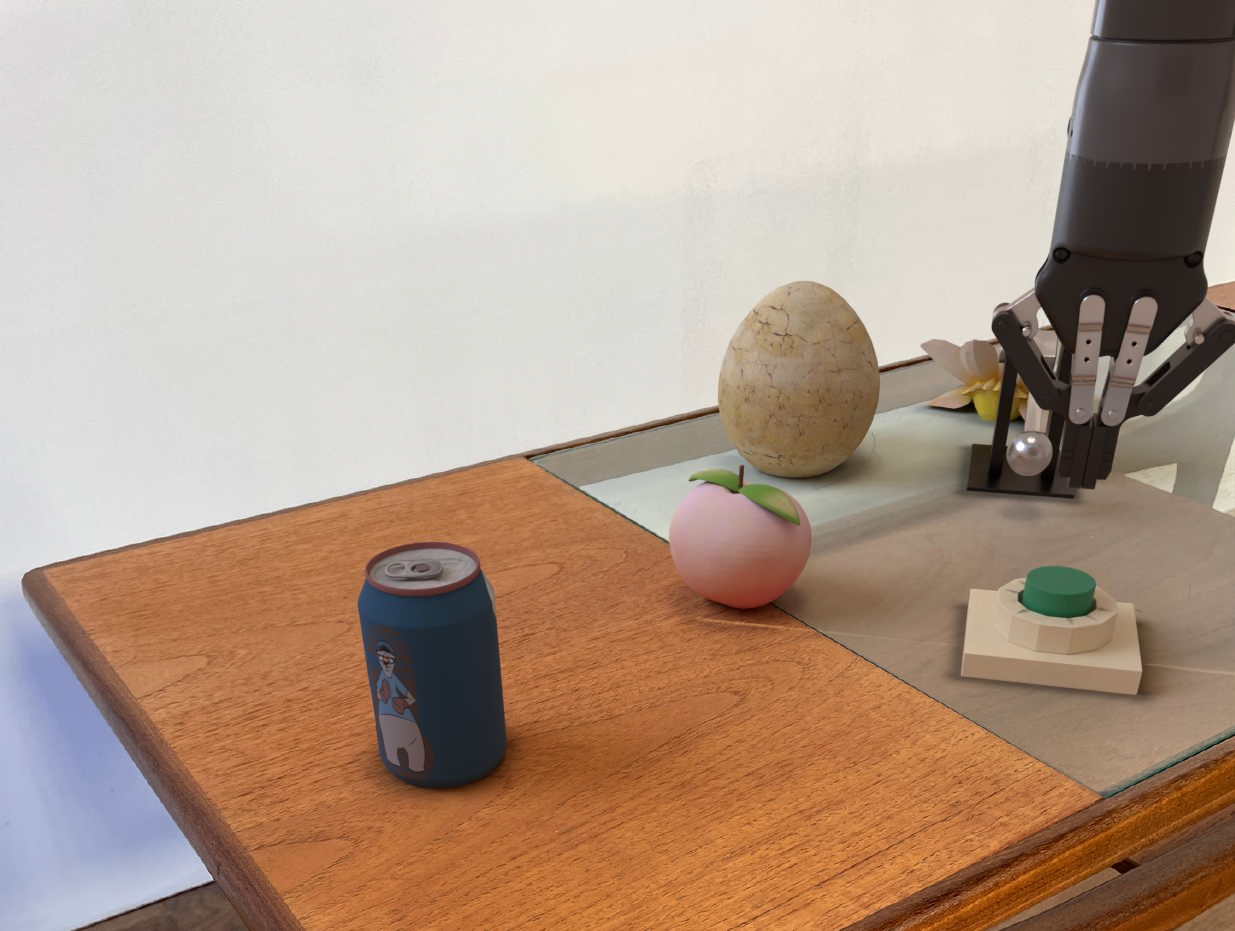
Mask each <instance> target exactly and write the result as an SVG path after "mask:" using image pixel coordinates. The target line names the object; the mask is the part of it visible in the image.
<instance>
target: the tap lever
mask: <svg viewBox="0 0 1235 931" xmlns="http://www.w3.org/2000/svg"><path fill="white" fill-rule="evenodd" d="M1033 339H1034V341H1035V342H1036V344H1037V346H1038V347H1039V349H1040V351H1041V352H1042V354H1043V356H1044V357H1045V359H1046V360H1047V362H1048V364H1049V365H1050V367H1051V369H1052V370H1053V371H1054V370H1055V366H1056V360H1057V354H1058V342H1059V339H1058V337H1057V335H1056V333H1055V331H1054V330H1045V329H1043V330H1042V329H1038V332H1037V334H1036V335H1035V336H1034V337H1033ZM1041 417H1042V409H1041V408H1040V407H1039V406H1038V405H1037V403H1036V401H1035V400H1034V398H1033V397H1032V395H1031V393H1030V392H1029V390H1028V397H1027V406H1026V414H1025V420H1024V425H1023V431H1022V432H1020V433H1018V434H1016V435H1015V436H1014V437H1013V438H1012V439H1011V440H1010V442H1009V443H1008V445H1007V446H1008V448H1007V453H1006V457H1007V462H1008V465H1009V466H1010V468H1011V469H1012V470H1013V471H1014V472H1015V473H1017V474H1019V475H1022V476H1033V475H1036V474H1038V473H1040V472H1042V471H1043V470H1044V469H1045V468H1046V467H1047V466H1048V465H1049V463H1050V461H1051V458H1052V445H1051V442H1050V440H1049V439H1048V438H1047V436H1045V433H1044V432H1040V427H1041Z"/></svg>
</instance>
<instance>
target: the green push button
mask: <svg viewBox="0 0 1235 931" xmlns="http://www.w3.org/2000/svg"><path fill="white" fill-rule="evenodd" d="M1025 578H1026V582H1025V587H1024V593H1023V598H1022V605H1023V606H1024V607H1025V608H1027V609H1028V610H1030V611H1033V612H1036V613H1039V614H1042V615H1045V616H1049V617H1059V618H1075V617H1081V616H1087V615H1088V614H1089V612H1090V611H1091V606H1092V602H1093V597H1094V593H1095V588H1096V586H1097V582H1096V579H1095V578H1094V577H1093V576H1092V575H1091V574H1089V573H1087V572H1085V571H1083V570H1080V569H1077V568H1074V567H1069V566H1061V565H1046V566H1045V565H1044V566H1040V567H1036V568H1034V569H1031V570H1030V571H1028V573H1027V574H1026V577H1025Z"/></svg>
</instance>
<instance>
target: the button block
mask: <svg viewBox="0 0 1235 931" xmlns="http://www.w3.org/2000/svg"><path fill="white" fill-rule="evenodd" d="M1025 582H1026V577H1021V578H1020V577H1019V578H1015V579H1012V580H1010V581H1008V582H1007V583H1005V584H1003V585H1002V586H1000V587H999V588H998V590H991V589H980V588H970V591H969V598H968V603H967V612H966V622H965V632H964V643H963V649H962V660H961V670H960V677H966V678H975V679H984V680H985V679H986V680H993V681H1003V682H1012V683H1013V682H1014V683H1021V684H1032V685H1040V686H1047V687H1048V686H1050V687H1059V688H1068V689H1078V690H1085V691H1086V690H1087V691H1095V692H1103V693H1104V692H1105V693H1106V692H1107V693H1115V694H1122V695H1123V694H1124V695H1133V696H1137V695H1138V693H1139V692H1138V691H1139V687H1140V683H1141V680H1142V676H1143V665H1142V658H1141V648H1140V643H1139V634H1138V626H1137V619H1136V612H1135V611H1136V610H1135V604H1134V603H1131V602H1122V601H1121V602H1120V601H1118V600H1117V599H1116V598H1114V597H1113V596H1112V595H1110V593H1108V592H1106V591H1105V590H1104V589H1103V588H1101V587H1100V586H1098V585H1096V588H1095V593H1094V597H1093V602H1092V606H1091V611H1090V612H1089V614H1088V615H1087V616H1081V617H1075V618H1059V617H1049V616H1045V615H1042V614H1039V613H1036V612H1033V611H1030V610H1028V609H1027V608H1025V607H1024V606H1023V605H1022V598H1023V593H1024V587H1025Z"/></svg>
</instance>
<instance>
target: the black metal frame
mask: <svg viewBox="0 0 1235 931" xmlns="http://www.w3.org/2000/svg"><path fill="white" fill-rule="evenodd" d="M999 348H1000V352H999V359H998V363H1004V367H1003V373H1002V380H1001V386H1000V393H999V399H998V406H997V412H996V419H995V421H994V427H993V433H992V439H991V444H984V443H983V444H982V443H981V444H980V443H972V444H971V450H970V459H969V467H968V475H967V483H966V491H967V492H978V493H992V494H993V493H994V494H1006V495H1017V496H1018V495H1020V496H1031V497H1045V498H1056V499H1057V498H1059V499H1070V500H1071V499H1072V500H1074V498H1075V488H1068V480H1067V479H1068V478H1067V477H1060V473H1059V469H1058V458H1059V452H1060V446H1061V441H1062V435H1063V430H1064V424H1065V419H1064V418H1063V416H1062V415H1060V414H1058V413H1056V412H1054V411H1052V410H1049V415H1048V420H1047V426H1046V432H1044V435H1045V436H1047V438H1048V439H1049V440H1050V442H1051V445H1052V458H1051V461H1050V463H1049V465H1048V466H1047V467H1046V468H1045V469H1044V470H1043V471H1042V472H1040V473H1038V474H1036V475H1033V476H1022V475H1019V474H1017V473H1015V472H1014V471H1013V470H1012V469H1011V468H1010V466H1009V465H1008V462H1007V457H1006V453H1007V448H1008V446H1009V445H1007V441H1008V436H1009V428H1010V422H1011V421H1010V417H1011V411H1012V405H1013V399H1014V392H1015V386H1016V380H1017V374H1018V372H1017V371H1016V369H1015V367H1014V366H1013V364H1012V363H1011V361H1010V359H1009V358H1008V356H1007V355H1006V353H1005V351H1004V350H1003V348H1002V346H1001V345H999ZM1071 366H1072V353H1070V352H1069V351H1067V350H1066V349H1065V348H1064V347H1063V346H1062V344H1061V343H1060V348H1059V354H1058V360H1057V364H1056V371H1055V372H1056V377H1057V379H1058V380H1059V381H1060V382H1063V383H1065V384H1067V385H1070V378H1071Z"/></svg>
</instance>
